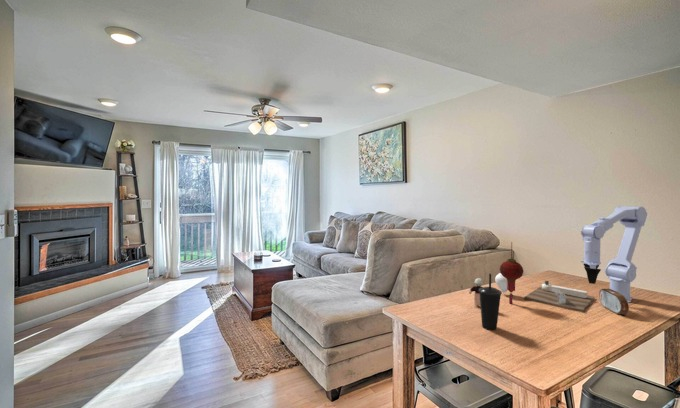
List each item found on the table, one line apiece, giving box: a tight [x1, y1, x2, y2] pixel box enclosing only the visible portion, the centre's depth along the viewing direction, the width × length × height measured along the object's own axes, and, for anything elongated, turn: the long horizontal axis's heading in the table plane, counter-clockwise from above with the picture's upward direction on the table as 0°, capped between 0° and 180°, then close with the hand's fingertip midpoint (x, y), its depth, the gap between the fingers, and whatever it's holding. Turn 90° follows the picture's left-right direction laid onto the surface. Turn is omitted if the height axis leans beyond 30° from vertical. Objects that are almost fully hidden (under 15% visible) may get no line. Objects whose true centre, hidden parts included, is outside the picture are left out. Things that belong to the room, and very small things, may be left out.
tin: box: [598, 287, 630, 316], centre depth 132 cm, size 15×3×8 cm, turn 168°
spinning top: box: [494, 272, 508, 295], centre depth 152 cm, size 8×8×12 cm
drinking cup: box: [479, 272, 503, 331], centre depth 114 cm, size 8×8×20 cm
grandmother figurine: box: [468, 277, 484, 309], centre depth 136 cm, size 8×4×13 cm, turn 71°
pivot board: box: [523, 280, 595, 313], centre depth 146 cm, size 26×22×6 cm
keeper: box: [551, 288, 566, 305], centre depth 141 cm, size 10×2×4 cm, turn 162°
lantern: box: [499, 243, 524, 305], centre depth 139 cm, size 10×10×30 cm
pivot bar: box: [541, 283, 588, 298], centre depth 151 cm, size 18×4×2 cm, turn 42°
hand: (591, 281), depth 141 cm, fingers open, 7 cm apart
